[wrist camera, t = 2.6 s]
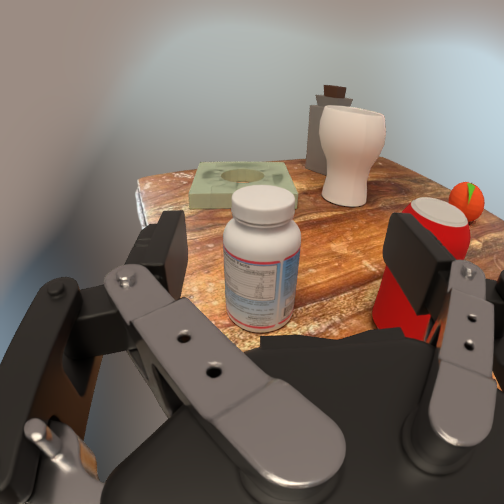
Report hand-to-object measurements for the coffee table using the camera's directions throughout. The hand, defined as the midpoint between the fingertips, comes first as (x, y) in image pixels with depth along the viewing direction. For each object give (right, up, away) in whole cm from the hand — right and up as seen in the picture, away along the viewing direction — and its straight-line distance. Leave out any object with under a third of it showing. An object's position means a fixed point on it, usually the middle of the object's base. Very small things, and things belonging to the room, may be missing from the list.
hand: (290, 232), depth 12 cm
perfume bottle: (+14, +16, +53) cm, 58 cm away
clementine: (+35, +5, +36) cm, 51 cm away
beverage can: (+12, -8, +15) cm, 21 cm away
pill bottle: (-1, -6, +17) cm, 18 cm away
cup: (+14, +8, +41) cm, 44 cm away
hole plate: (-3, +10, +42) cm, 44 cm away
